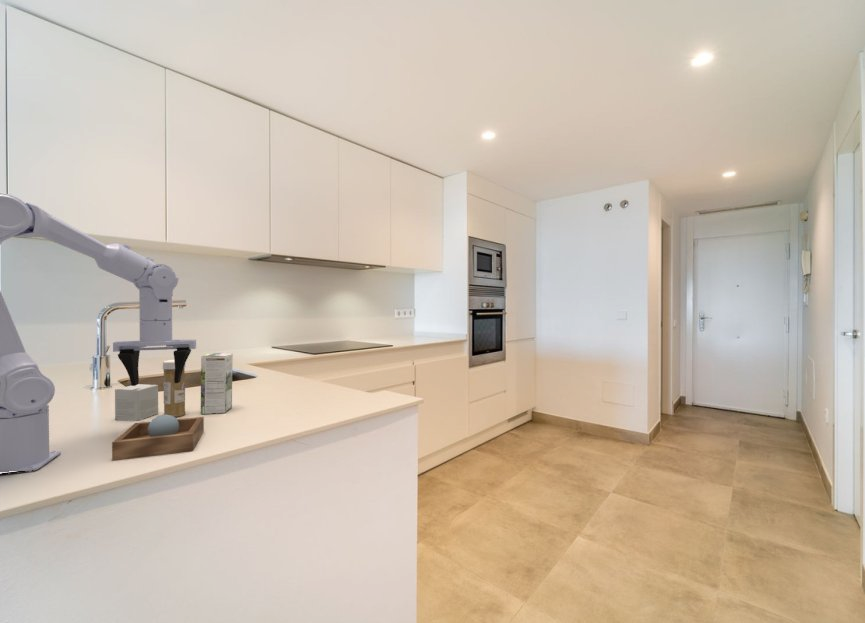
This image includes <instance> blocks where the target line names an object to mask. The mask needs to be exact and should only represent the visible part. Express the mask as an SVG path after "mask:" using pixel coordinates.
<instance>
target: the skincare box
mask: <svg viewBox="0 0 865 623" xmlns="http://www.w3.org/2000/svg"><path fill="white" fill-rule="evenodd" d="M158 414H159V385H158V384H142V383H141V384H140V383H139V384H137V385H136V386H131V385H128V386H123V387H120V388H115V389H114V420H115V421H128V420H129V421H132V422H133V421H134V422H139V421H142V420H146V419H147V418H150V417H153V416H156V415H158Z"/></svg>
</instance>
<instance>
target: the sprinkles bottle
mask: <svg viewBox="0 0 865 623" xmlns="http://www.w3.org/2000/svg"><path fill="white" fill-rule="evenodd" d="M185 368H186V364H185V365H184V368H183V371H182V375H181V381H180V382H179V383H175V381H174V377H175V361H174V359H168V360H163V361H162V369H163V384H162V385H163V408H164V410H163V411H164V412H163V415H171V416H173V417H175V418H179V417H182V416H185V415H186V414H187V413H186V382H185V380H186V379H185V376H186V374H185V373H186V372H185V371H186V370H185Z"/></svg>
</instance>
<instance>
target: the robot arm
mask: <svg viewBox="0 0 865 623" xmlns="http://www.w3.org/2000/svg"><path fill="white" fill-rule="evenodd" d="M13 237H14V238H15V237H16V238H17V237H19V238H20V237H21V238H25V237H26V238H43V239H45V240H48V241H51V242H54V243H55V244H58V245H61V246H63V247H65V248H67V249H70V250H72V251H75V252H77V253H79V254H83V255H84V256H87V257H90V258H91V259H94V261H95V263H96V265H97V267H98V268H99V269H100V270H102V271H105V272H107V273H109V274H112V275H114V276H117V277H118V278H121V279H123V280H125V281H126V282H127V281H128V282H130V283H132V284H133V285H134V287H135V288H137V289H138V291H139V298H138V299H139V300H138V301H139V302H138V303H139V307H138V308H139V309H138V310H139V340H129V341H128V340H127V341H126V340H125V341H124V340H123V341H114V342H112V352H115V353H117V352H119V353H118V354H117V357H118V359H119V360H120V362H121V363H122V364H123V367H124V368H125V370H126V372H127V375H128V377H129V380H130V381H129V382H130V386H136V385H137V384H140V383H139V380H140V377H139V363H140V362H139V361H140V353H141V351H159V350H161V351H163V350H165V351H166V350H174V351H173V358H174V359H173V360H174V361H175V377H174V381H175V383H179V382H180V381H181V375H182V371H183V368H184V365H185V366H186V362H187V361H188V359H189V356H190V354H191V353H192V350H195V349H197V339H173V295H174V294H173V291H174V289H175V288H176V287H177V286H178V284H179V283H178V282H179V277H177V276H176V273H175V271H174V270H173V268H172V267H170V266H169V265H166V264H162V263H161V264H159V263H158V264H156V263H155V260H154V258H152V257H145V256H143V255H142V254H139V253H137V252H135V251H133V250H131V249H132V248H131V246H130V245H129V244H126V243H122V244H120V243H117V242H115V243H108V244H106V243H104V242H102V241H100V240H98V239H96V238H95V237H92V236H91V235H89V234H86V233H85V232H83V231H81V230H80V229H78V228H76V227H74V226H72V225H70V224H69V223H67V222H65V221H63V220H61V219H59V218H58V217H56V216H53V215H52V214H50V213H48V212H47V211H45V210H44V209H42V208H41V207H39V206H38V205H35V204H32V203H30V202H25V201H23V200H22V199H20V198H19V197H17V196H15V195H12V194H11V193H10V194H9V193H5V192H0V245H1V244H2V243H3V242H5V241H7V240H9V239H10V238H13ZM161 346H162V347H161ZM55 392H56V389H55V385H54V382H53V381H52V380H51V379H50V378H49V377H47V376H46V375H45V374H43V373H42V372H41V370H40V369H39V366H38V364H37V363H36V361H35V360H33V359H32V358H31V356H30V355H29V354H28V353H27V352H26V349H25V346H24V345H23V342H22V340H21V337H20V335H19V332H18V330H17V328H16V325H15V322H14V320H13V319H12V315H11V313H10V311H9V309H8V305H7V303H6V301H5V299H4V296H3V294H2V292H1V291H0V472H9V471H25V472H33V471H37V470H39V469H40V468H42V467H44V466H45V465H46V464H48V463H49V462H51V461H52V460H54V459H55V458H56V457H58V456H59V455H60V454H61V453H62V451H61V450H56V451H55V450H54V451H50V412H49V411H50V409H49V404H50V403H51V401H52V400H53V398H54V396H55ZM32 470H33V471H32Z"/></svg>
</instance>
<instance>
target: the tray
mask: <svg viewBox="0 0 865 623" xmlns="http://www.w3.org/2000/svg"><path fill="white" fill-rule="evenodd" d="M176 419H177V420H178V422H179V430H178V432H177V434H173V435H164V436H154V437H150V436H149V434H148V426H149V424H150V422H151V421H143V422H135V423H133V424H132V425H131V426H130V427H128V429H126V430H125V431H124V432H122V433H121V434H120V435H119V436H118V437H117V438H116V439H114V440H113V441H112V443H111V451H112V452H111V454H112V455H111V461H118V460H125V459H135V458H143V457H151V456H161V455H167V454H179V453H185V452H193V451H194V450H195V447H197V444H198V442H199V440H200V439H201V437H202V435H203V433H204V431H205V428H204V424H205V422H204V420H205V417H204V416H196V417H186V418H184V417H183V418H176Z"/></svg>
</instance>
